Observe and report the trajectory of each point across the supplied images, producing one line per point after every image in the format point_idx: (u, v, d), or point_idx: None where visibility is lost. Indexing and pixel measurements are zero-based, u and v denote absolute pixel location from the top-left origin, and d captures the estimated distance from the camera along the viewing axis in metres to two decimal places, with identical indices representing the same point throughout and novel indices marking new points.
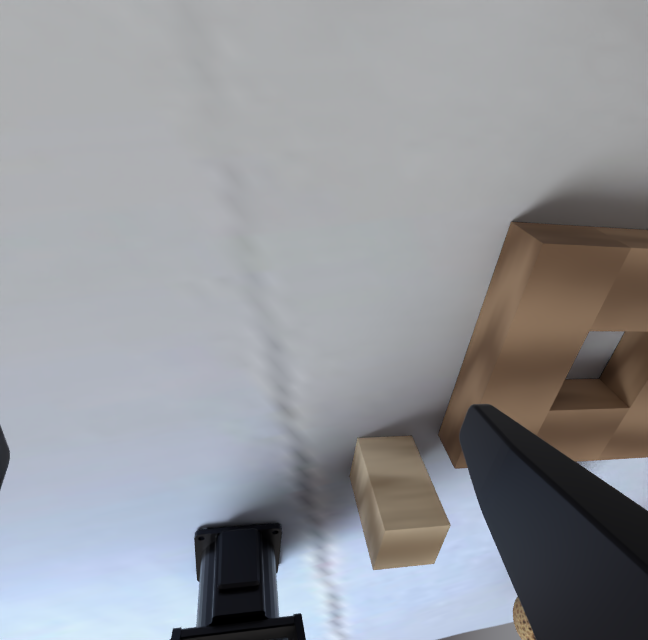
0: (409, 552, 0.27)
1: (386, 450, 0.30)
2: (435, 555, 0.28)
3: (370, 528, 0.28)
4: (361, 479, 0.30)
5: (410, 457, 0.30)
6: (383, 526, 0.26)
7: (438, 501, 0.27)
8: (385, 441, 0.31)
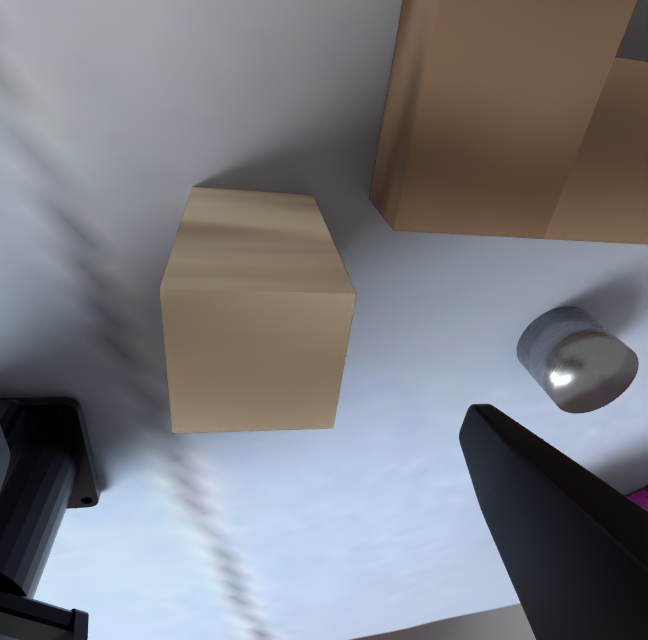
0: (258, 383, 0.10)
1: (247, 202, 0.14)
2: (332, 401, 0.11)
3: None
4: None
5: (297, 212, 0.14)
6: (162, 285, 0.09)
7: (337, 261, 0.11)
8: (251, 195, 0.15)
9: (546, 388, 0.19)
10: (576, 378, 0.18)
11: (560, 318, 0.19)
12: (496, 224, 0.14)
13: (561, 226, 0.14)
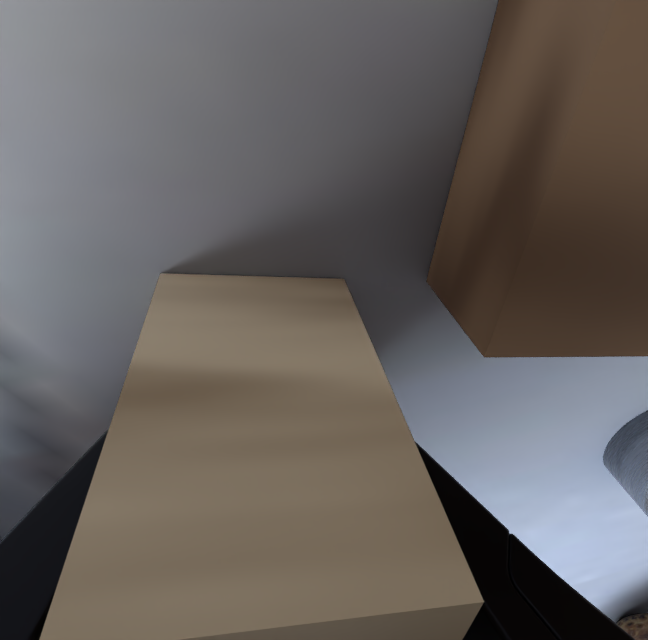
0: None
1: (245, 303, 0.09)
2: None
3: None
4: None
5: (325, 324, 0.08)
6: (52, 616, 0.04)
7: (418, 470, 0.06)
8: (251, 285, 0.09)
9: None
10: None
11: None
12: (643, 340, 0.09)
13: None
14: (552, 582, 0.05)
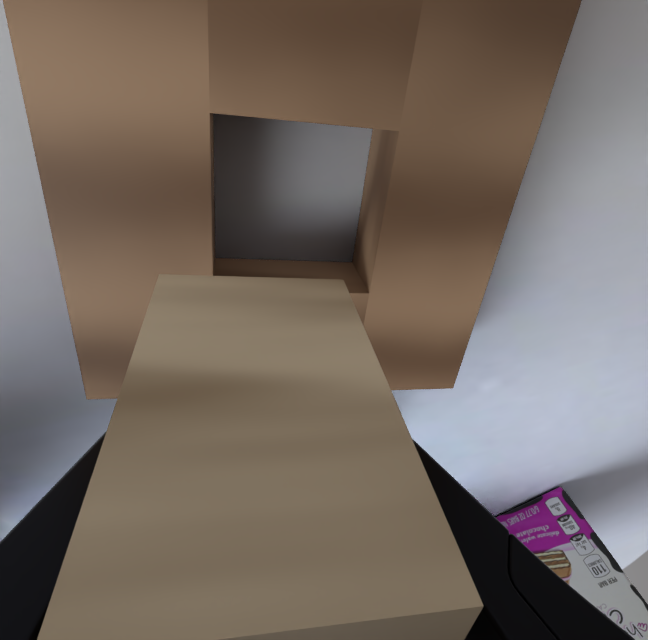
0: None
1: (244, 305, 0.09)
2: None
3: None
4: None
5: (325, 325, 0.08)
6: (47, 621, 0.04)
7: (418, 473, 0.06)
8: (250, 286, 0.09)
9: None
10: None
11: None
12: None
13: None
14: (552, 582, 0.05)
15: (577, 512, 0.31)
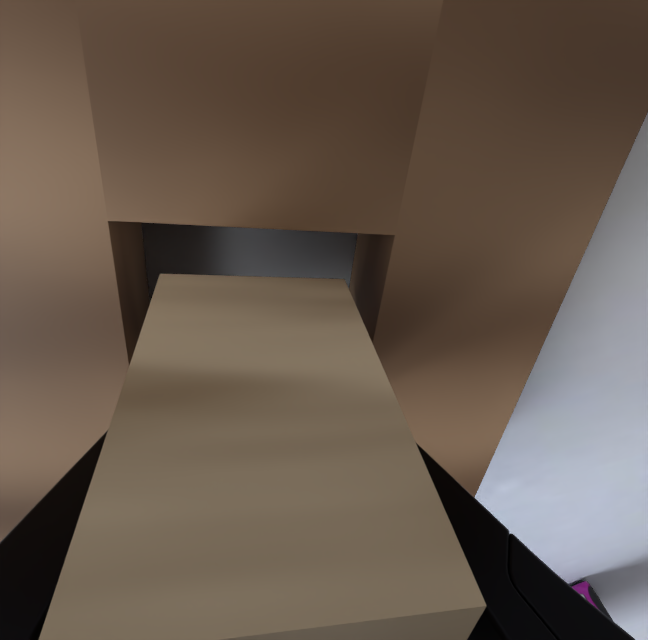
0: None
1: (245, 304, 0.09)
2: None
3: None
4: None
5: (326, 324, 0.08)
6: (48, 621, 0.04)
7: (420, 472, 0.06)
8: (251, 286, 0.09)
9: None
10: None
11: None
12: None
13: None
14: (552, 582, 0.05)
15: None
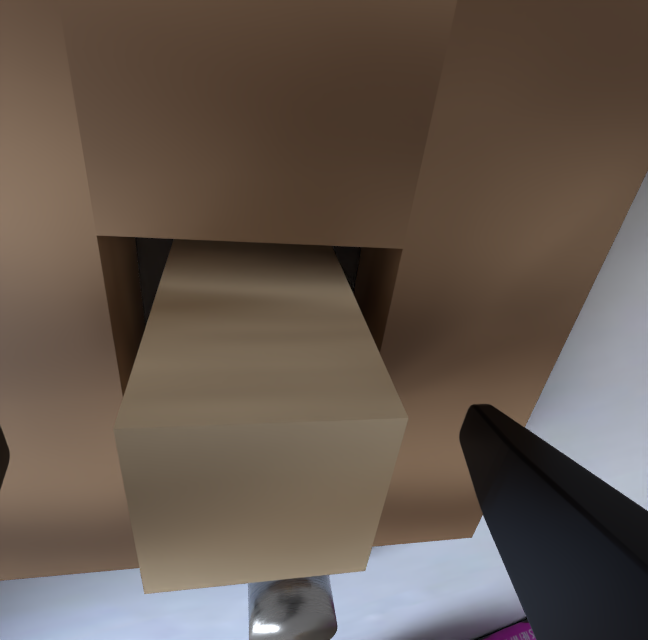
0: (264, 530, 0.07)
1: (245, 251, 0.11)
2: (365, 542, 0.08)
3: None
4: None
5: (310, 266, 0.11)
6: (120, 415, 0.06)
7: (373, 352, 0.08)
8: None
9: None
10: (269, 636, 0.18)
11: None
12: (87, 565, 0.13)
13: None
14: None
15: None
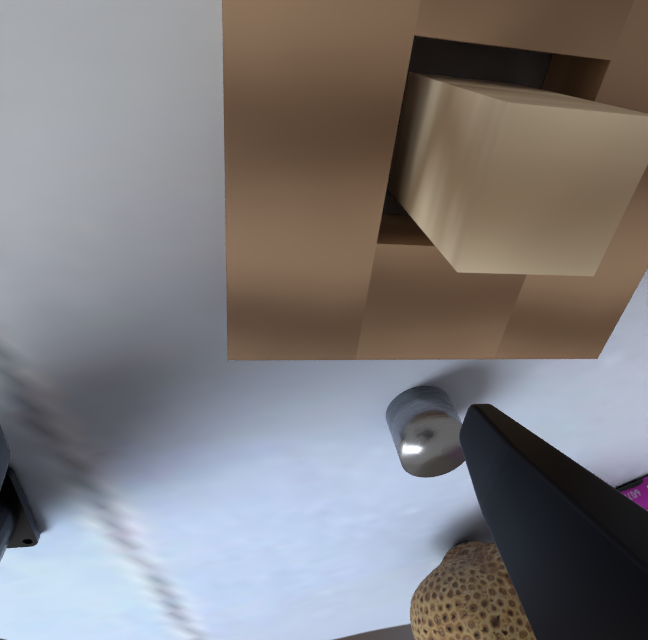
0: (549, 218, 0.11)
1: (472, 80, 0.14)
2: (604, 244, 0.12)
3: (448, 190, 0.12)
4: (419, 134, 0.14)
5: (525, 88, 0.14)
6: (497, 105, 0.10)
7: (617, 107, 0.11)
8: (466, 79, 0.15)
9: (399, 457, 0.23)
10: (418, 452, 0.22)
11: (413, 398, 0.23)
12: (312, 352, 0.17)
13: (368, 351, 0.18)
14: None
15: None
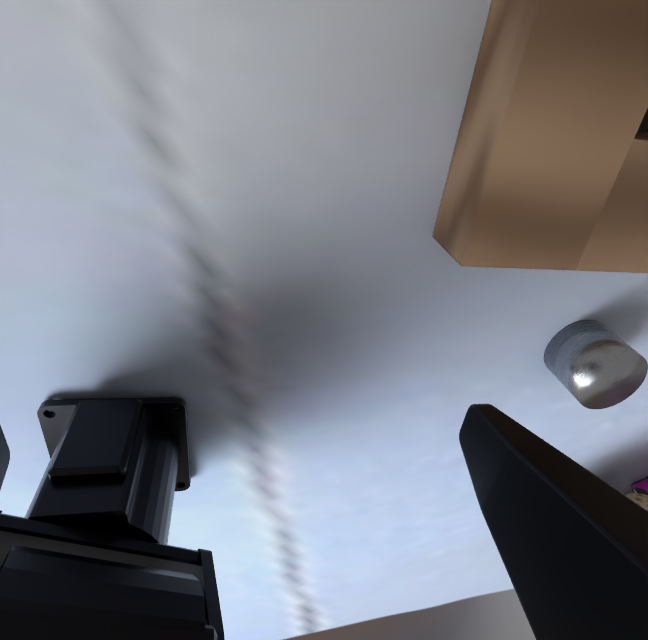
0: None
1: None
2: None
3: None
4: None
5: None
6: None
7: None
8: None
9: (571, 388, 0.23)
10: (596, 379, 0.22)
11: (582, 329, 0.23)
12: (539, 260, 0.17)
13: (589, 260, 0.18)
14: None
15: None
